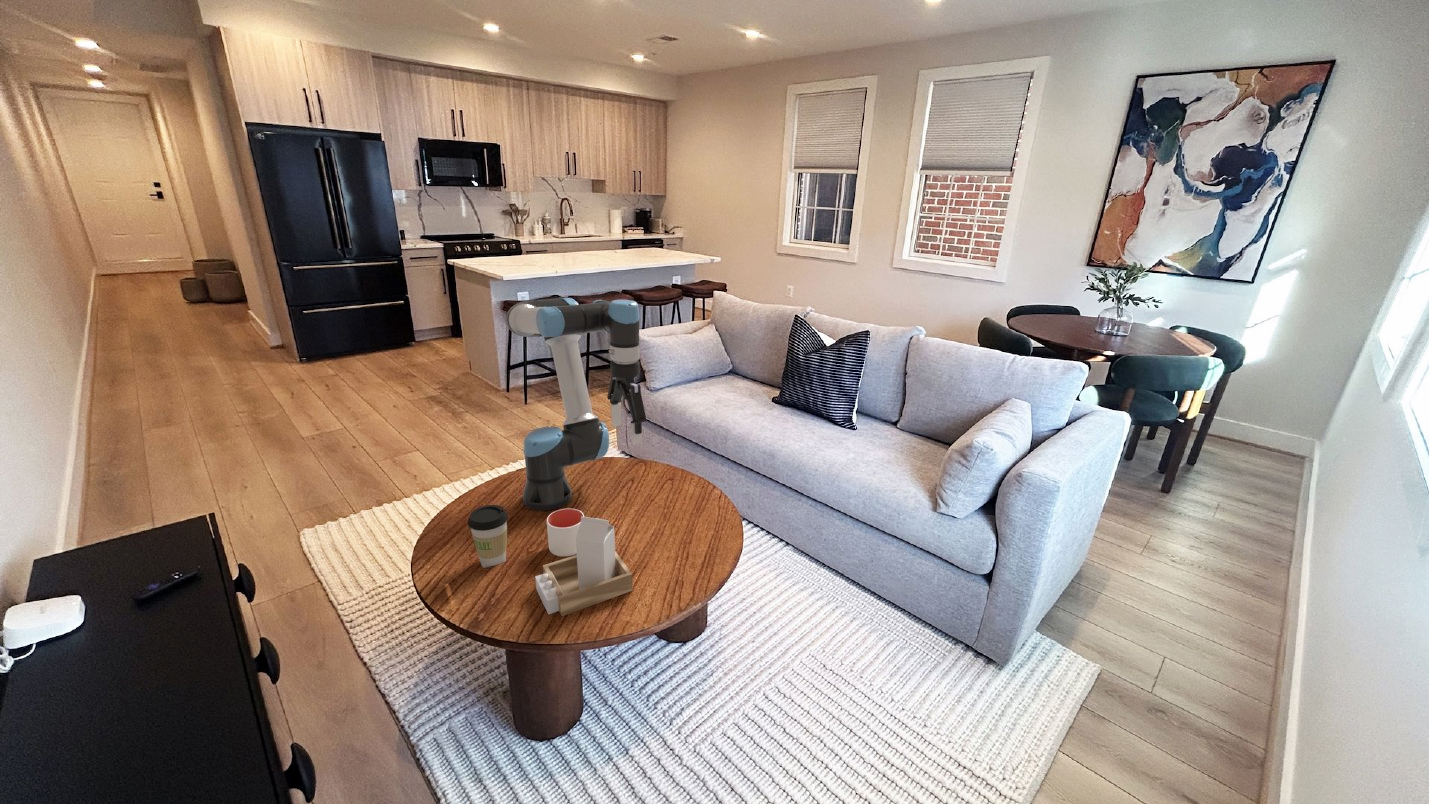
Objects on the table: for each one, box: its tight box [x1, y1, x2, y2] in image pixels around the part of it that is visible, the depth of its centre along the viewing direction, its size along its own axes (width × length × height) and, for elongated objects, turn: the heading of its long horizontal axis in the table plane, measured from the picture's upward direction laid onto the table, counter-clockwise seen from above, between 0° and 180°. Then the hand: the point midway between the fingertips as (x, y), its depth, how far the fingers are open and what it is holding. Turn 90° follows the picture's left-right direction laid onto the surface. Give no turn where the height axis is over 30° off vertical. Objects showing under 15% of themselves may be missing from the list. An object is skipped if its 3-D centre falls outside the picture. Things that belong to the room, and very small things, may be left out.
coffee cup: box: [467, 504, 509, 569], centre depth 146 cm, size 10×10×15 cm
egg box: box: [534, 571, 564, 616], centre depth 133 cm, size 10×4×5 cm, turn 32°
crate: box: [542, 550, 634, 617], centre depth 138 cm, size 14×18×6 cm
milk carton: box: [576, 516, 616, 589], centre depth 137 cm, size 7×7×19 cm
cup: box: [546, 508, 585, 557], centre depth 153 cm, size 10×10×10 cm
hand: (626, 434), depth 152 cm, fingers open, 13 cm apart
